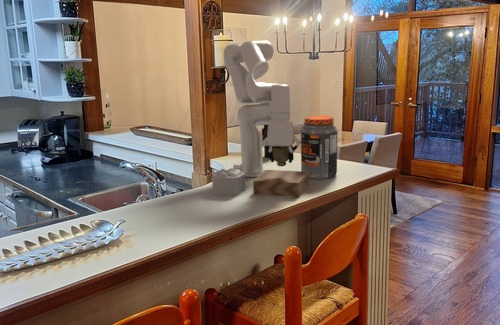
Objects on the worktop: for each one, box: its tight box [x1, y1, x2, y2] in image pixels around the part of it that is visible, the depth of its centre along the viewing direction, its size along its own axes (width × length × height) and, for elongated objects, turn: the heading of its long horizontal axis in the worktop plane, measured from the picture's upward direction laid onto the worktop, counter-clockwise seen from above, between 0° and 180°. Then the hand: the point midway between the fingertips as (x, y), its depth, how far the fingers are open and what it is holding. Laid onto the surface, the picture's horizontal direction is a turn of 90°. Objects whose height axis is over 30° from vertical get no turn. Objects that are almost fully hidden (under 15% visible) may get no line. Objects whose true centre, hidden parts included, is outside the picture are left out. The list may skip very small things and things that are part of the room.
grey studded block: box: [211, 167, 246, 197], centre depth 183 cm, size 10×13×9 cm
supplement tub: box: [300, 115, 338, 180], centre depth 201 cm, size 16×16×26 cm
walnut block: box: [252, 169, 310, 198], centre depth 183 cm, size 18×18×6 cm
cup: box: [272, 146, 290, 167], centre depth 180 cm, size 8×7×8 cm
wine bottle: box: [261, 125, 270, 159], centre depth 243 cm, size 8×10×30 cm
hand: (281, 161), depth 181 cm, fingers closed on cup, 6 cm apart
